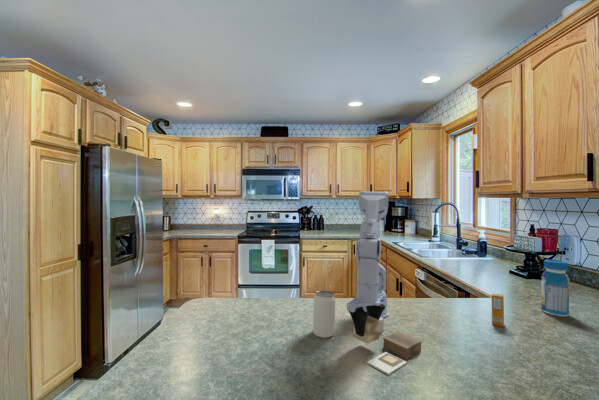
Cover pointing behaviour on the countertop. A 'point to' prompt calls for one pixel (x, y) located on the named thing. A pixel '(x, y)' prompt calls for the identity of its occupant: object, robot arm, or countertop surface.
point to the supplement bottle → (555, 288)
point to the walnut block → (402, 345)
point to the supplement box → (497, 310)
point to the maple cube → (369, 330)
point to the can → (324, 314)
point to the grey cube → (381, 325)
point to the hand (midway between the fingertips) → (366, 332)
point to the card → (387, 363)
